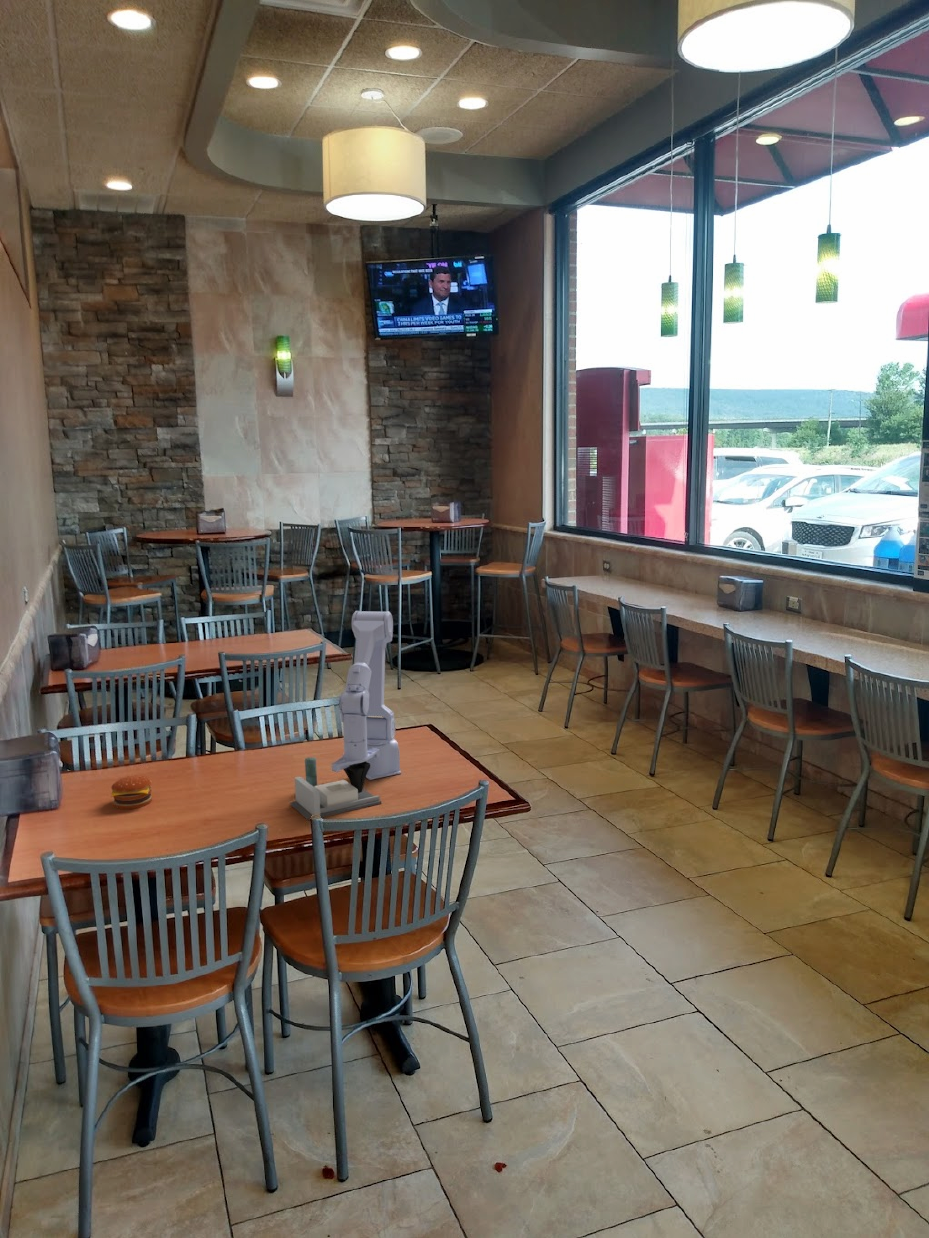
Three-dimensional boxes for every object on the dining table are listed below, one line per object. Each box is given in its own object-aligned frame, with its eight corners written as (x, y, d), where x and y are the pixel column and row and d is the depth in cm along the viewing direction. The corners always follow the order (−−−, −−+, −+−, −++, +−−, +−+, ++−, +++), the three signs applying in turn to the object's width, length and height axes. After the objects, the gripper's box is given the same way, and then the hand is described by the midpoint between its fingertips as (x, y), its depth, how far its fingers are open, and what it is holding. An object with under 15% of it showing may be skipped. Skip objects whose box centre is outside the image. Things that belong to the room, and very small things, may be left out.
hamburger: (152, 807, 225) (149, 781, 224) (110, 812, 223) (108, 786, 222) (154, 793, 234) (152, 769, 233) (115, 798, 232) (112, 773, 231)
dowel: (314, 786, 238) (313, 756, 236) (319, 789, 235) (317, 759, 234) (304, 788, 236) (303, 758, 235) (308, 791, 234) (307, 761, 232)
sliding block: (344, 792, 231) (344, 779, 230) (358, 802, 224) (357, 789, 223) (314, 799, 227) (314, 786, 226) (327, 809, 220) (327, 796, 219)
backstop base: (360, 788, 235) (359, 764, 234) (381, 803, 225) (380, 777, 224) (290, 804, 226) (288, 778, 224) (308, 820, 215) (307, 793, 214)
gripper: (365, 729, 234) (366, 779, 236) (322, 743, 223) (324, 796, 225) (384, 734, 229) (386, 785, 232) (342, 748, 218) (344, 803, 221)
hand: (357, 791), depth 228 cm, fingers closed
